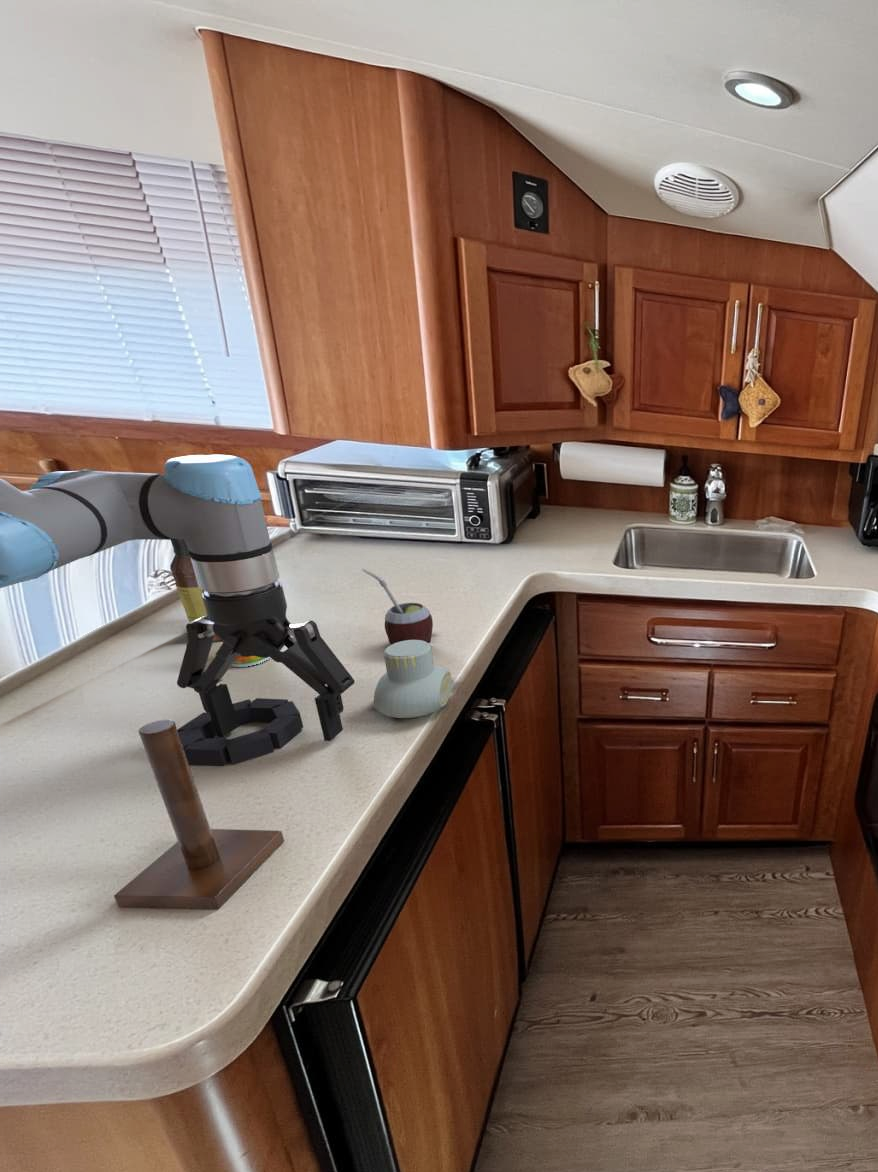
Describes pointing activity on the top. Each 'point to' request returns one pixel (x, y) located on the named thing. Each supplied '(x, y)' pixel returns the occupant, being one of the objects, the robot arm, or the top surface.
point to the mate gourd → (406, 619)
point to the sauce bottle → (187, 583)
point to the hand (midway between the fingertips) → (281, 733)
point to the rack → (192, 839)
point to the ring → (248, 746)
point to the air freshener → (411, 681)
